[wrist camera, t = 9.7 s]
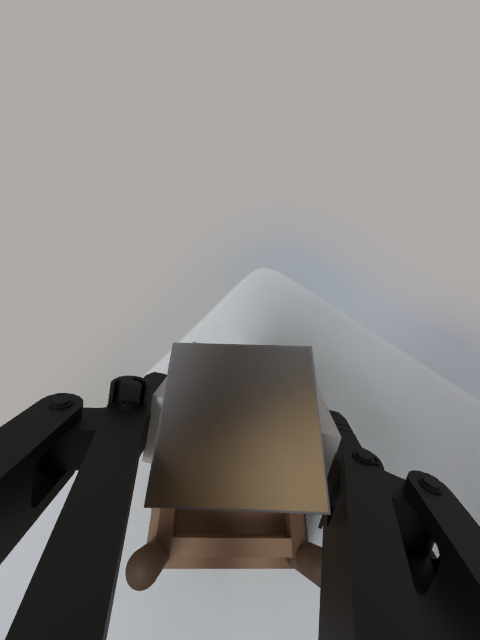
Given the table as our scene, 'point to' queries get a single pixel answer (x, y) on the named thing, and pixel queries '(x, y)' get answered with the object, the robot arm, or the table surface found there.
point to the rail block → (239, 431)
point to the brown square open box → (223, 544)
